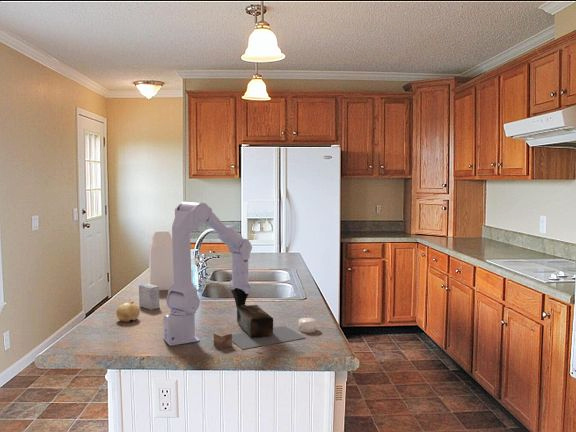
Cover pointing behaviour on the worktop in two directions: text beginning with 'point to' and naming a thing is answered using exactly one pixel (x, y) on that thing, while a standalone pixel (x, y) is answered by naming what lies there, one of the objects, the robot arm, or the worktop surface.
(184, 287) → the robot arm
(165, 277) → the milk
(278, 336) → the mat
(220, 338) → the walnut block
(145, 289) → the medicine box
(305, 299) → the worktop surface
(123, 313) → the onion
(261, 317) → the beverage carton
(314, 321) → the cream egg shape
